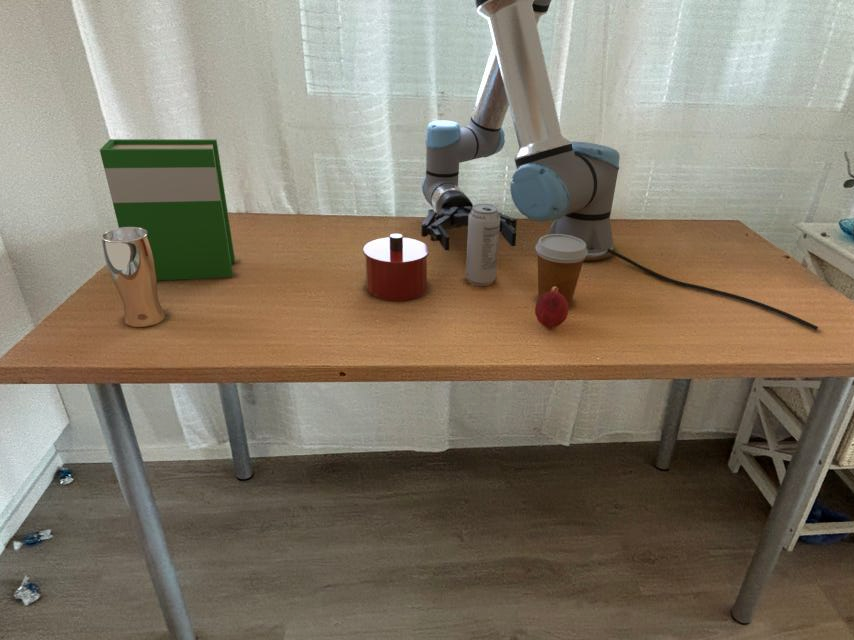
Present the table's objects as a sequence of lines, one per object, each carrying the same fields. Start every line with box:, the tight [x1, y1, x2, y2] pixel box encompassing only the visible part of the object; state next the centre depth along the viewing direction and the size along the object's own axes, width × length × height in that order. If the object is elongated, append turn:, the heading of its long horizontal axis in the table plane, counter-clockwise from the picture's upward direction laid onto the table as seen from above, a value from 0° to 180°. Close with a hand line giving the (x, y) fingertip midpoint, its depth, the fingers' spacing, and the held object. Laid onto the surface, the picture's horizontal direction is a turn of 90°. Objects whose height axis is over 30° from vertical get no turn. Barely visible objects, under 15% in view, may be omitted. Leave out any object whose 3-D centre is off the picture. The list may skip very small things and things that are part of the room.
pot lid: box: [362, 233, 430, 265], centre depth 119 cm, size 12×12×4 cm
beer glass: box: [100, 227, 166, 328], centre depth 104 cm, size 7×7×15 cm
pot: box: [364, 255, 428, 302], centre depth 122 cm, size 11×11×7 cm
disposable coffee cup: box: [535, 234, 588, 308], centre depth 119 cm, size 10×10×12 cm
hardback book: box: [99, 138, 236, 281], centre depth 118 cm, size 18×7×24 cm, turn 104°
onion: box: [534, 286, 570, 330], centre depth 111 cm, size 6×6×8 cm
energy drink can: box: [465, 203, 500, 287], centre depth 125 cm, size 6×6×15 cm
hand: (481, 241), depth 125 cm, fingers open, 13 cm apart
